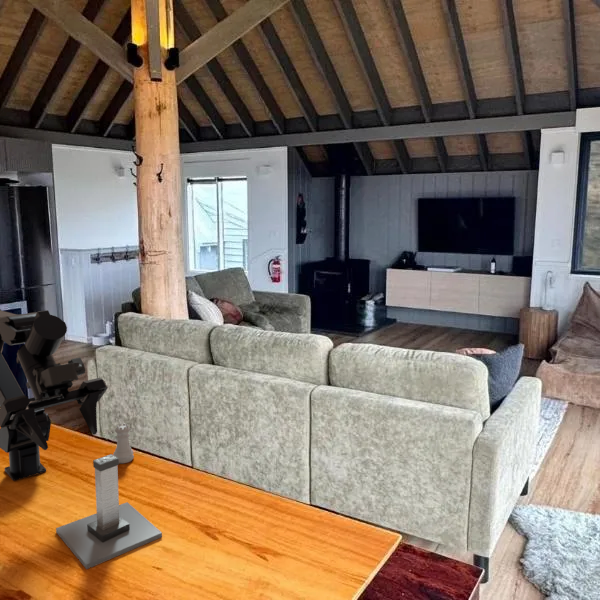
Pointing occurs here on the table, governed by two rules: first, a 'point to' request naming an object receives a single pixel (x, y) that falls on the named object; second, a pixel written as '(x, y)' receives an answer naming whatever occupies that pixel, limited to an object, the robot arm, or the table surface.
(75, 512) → the table surface
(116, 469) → the tray topped pillar
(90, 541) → the plate
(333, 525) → the table surface
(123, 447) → the rook chess piece
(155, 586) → the table surface
